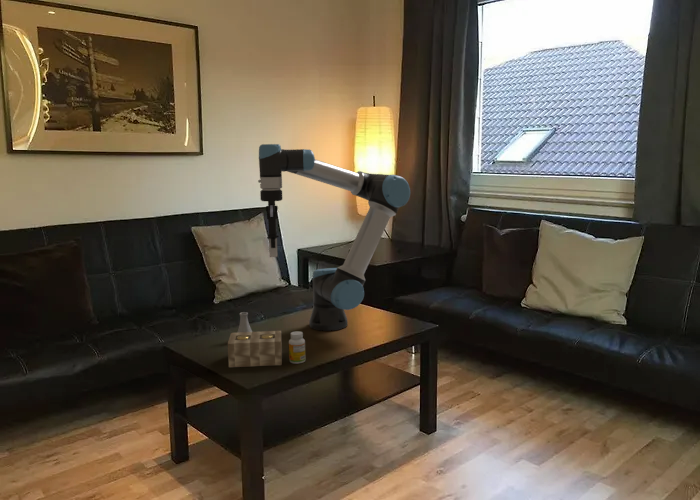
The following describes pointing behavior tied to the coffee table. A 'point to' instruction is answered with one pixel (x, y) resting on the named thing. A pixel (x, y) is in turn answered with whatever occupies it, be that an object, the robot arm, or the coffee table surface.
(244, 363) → the birch block
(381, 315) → the coffee table surface
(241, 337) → the peg
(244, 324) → the flask
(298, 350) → the supplement bottle
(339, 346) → the coffee table surface
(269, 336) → the peg
